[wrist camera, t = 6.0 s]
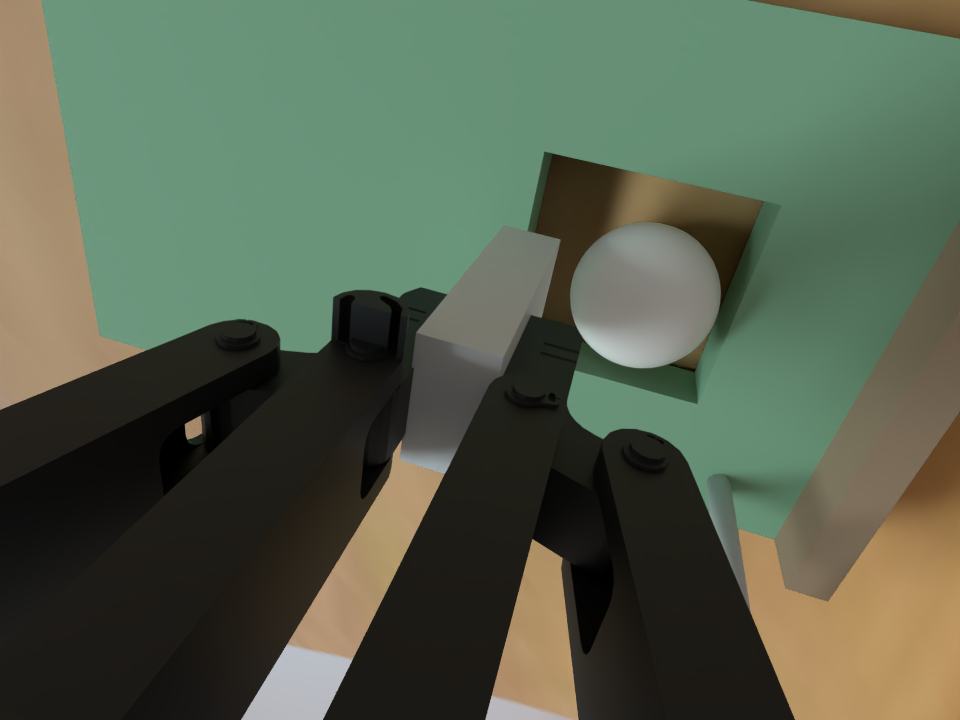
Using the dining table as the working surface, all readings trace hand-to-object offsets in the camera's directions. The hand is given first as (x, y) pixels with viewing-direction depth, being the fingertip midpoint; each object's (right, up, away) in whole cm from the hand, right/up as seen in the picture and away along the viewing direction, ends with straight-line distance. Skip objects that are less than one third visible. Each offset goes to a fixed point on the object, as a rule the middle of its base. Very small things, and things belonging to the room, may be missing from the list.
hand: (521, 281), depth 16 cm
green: (-1, +2, +3) cm, 4 cm away
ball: (+3, 0, +1) cm, 4 cm away
